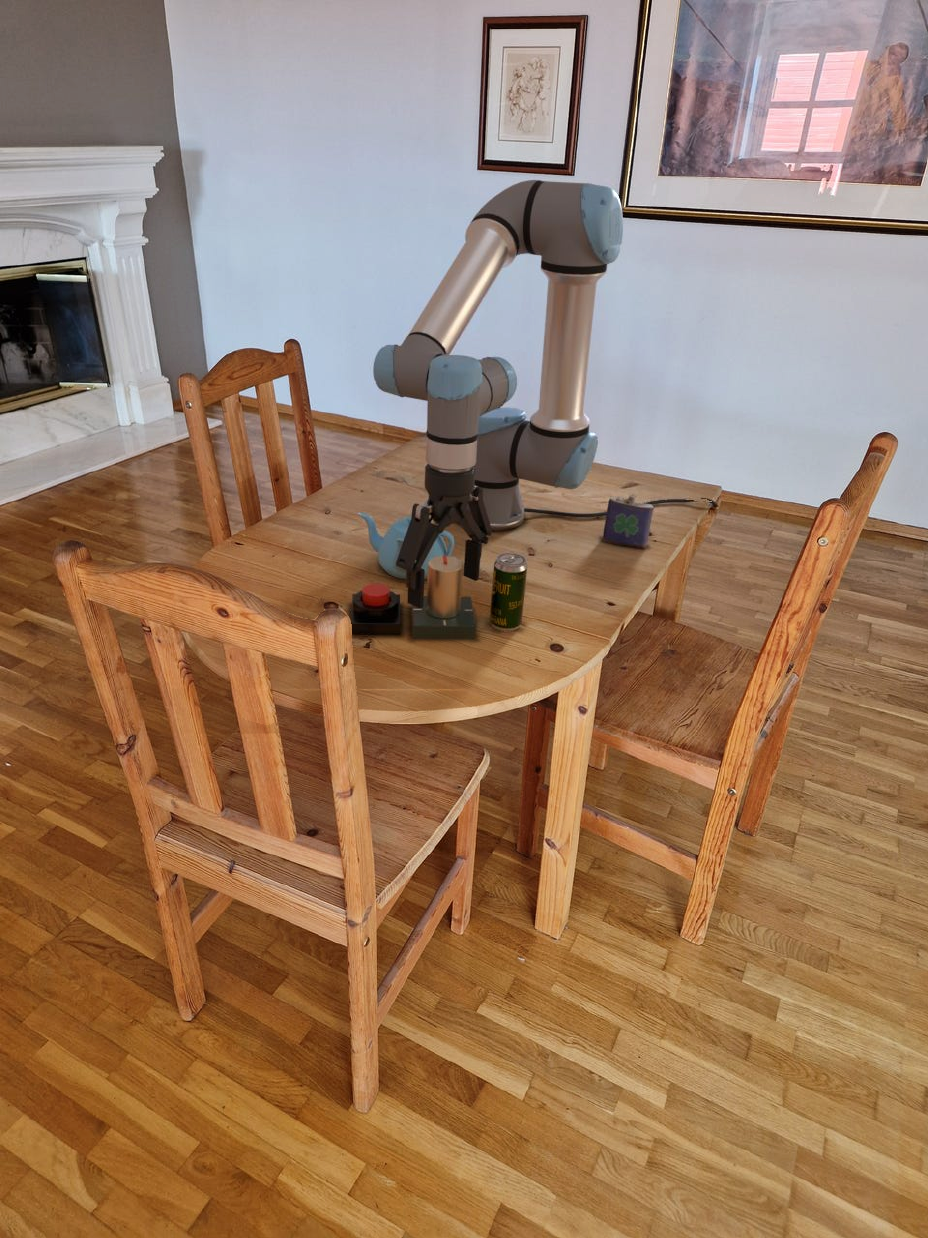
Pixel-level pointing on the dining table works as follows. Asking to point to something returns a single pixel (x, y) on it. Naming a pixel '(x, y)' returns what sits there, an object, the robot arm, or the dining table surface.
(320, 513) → the dining table surface
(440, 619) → the block
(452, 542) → the teapot
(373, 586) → the button
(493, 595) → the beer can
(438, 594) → the tan upright cylinder
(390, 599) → the button box
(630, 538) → the flask
